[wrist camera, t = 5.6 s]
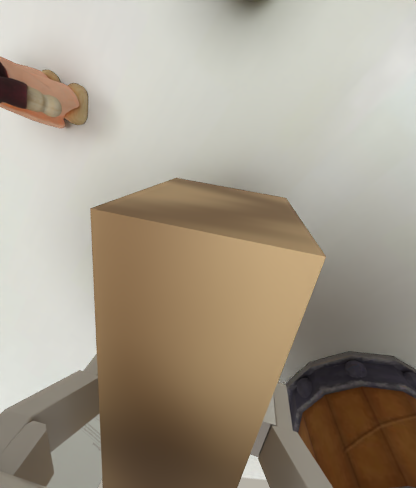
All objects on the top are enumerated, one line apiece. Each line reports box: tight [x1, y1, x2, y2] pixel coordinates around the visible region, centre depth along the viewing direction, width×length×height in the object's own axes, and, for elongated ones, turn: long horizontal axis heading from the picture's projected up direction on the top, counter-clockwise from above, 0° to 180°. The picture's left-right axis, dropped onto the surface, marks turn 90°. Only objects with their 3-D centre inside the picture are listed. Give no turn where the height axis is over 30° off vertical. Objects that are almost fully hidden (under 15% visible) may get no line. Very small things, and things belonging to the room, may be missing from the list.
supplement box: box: [46, 414, 102, 488], centre depth 27 cm, size 7×7×13 cm
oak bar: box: [90, 178, 326, 488], centre depth 9 cm, size 4×14×5 cm, turn 171°
